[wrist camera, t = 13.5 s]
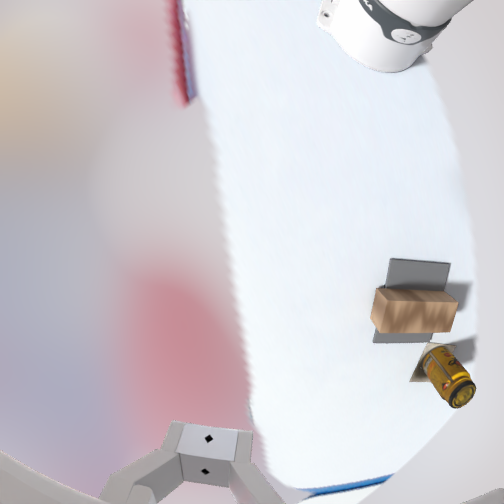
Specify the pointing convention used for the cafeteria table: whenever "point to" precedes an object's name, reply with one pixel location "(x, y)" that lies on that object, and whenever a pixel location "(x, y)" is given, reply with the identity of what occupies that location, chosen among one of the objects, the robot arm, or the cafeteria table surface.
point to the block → (413, 311)
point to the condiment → (445, 374)
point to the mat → (412, 278)
